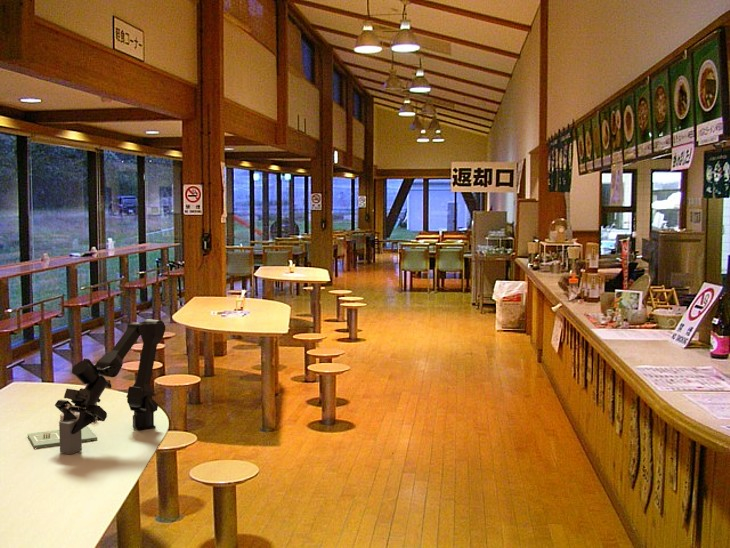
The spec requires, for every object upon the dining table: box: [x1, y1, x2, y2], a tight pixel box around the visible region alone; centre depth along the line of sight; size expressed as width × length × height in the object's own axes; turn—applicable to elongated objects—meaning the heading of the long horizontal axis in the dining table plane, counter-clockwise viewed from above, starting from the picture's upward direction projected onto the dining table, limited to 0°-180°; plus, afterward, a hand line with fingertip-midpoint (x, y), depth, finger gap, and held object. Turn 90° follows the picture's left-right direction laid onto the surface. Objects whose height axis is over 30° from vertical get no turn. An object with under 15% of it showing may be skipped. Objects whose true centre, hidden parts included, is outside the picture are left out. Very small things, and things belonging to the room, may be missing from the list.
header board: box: [27, 425, 98, 449], centre depth 273 cm, size 20×16×2 cm
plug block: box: [58, 419, 83, 455], centre depth 257 cm, size 5×4×10 cm
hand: (67, 432), depth 256 cm, fingers closed on plug block, 4 cm apart
